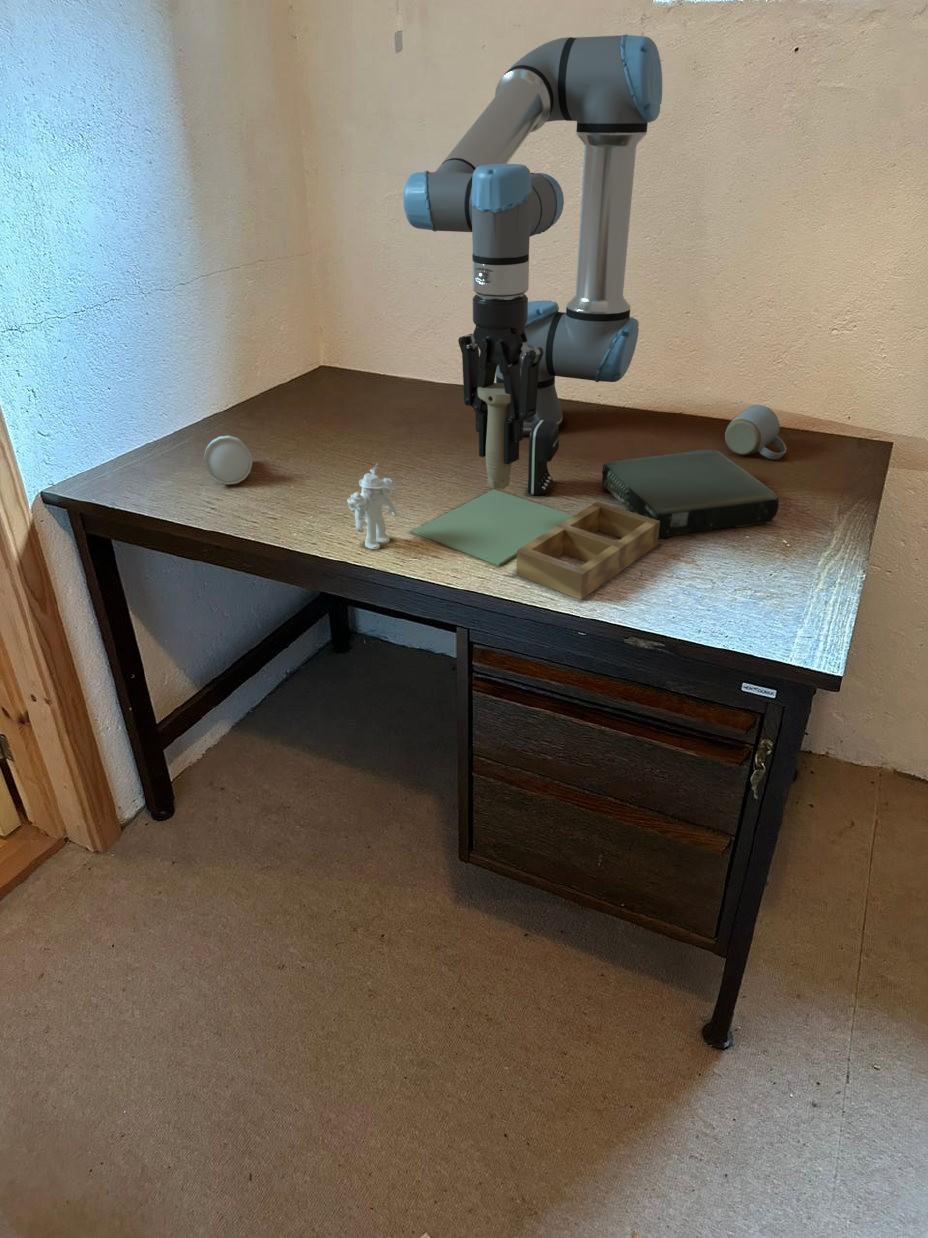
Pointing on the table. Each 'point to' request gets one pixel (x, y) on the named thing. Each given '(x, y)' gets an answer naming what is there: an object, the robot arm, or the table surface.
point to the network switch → (690, 491)
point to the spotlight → (228, 460)
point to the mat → (493, 526)
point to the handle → (496, 434)
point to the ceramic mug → (755, 433)
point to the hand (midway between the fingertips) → (498, 457)
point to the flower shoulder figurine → (372, 507)
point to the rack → (587, 549)
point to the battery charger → (541, 455)
